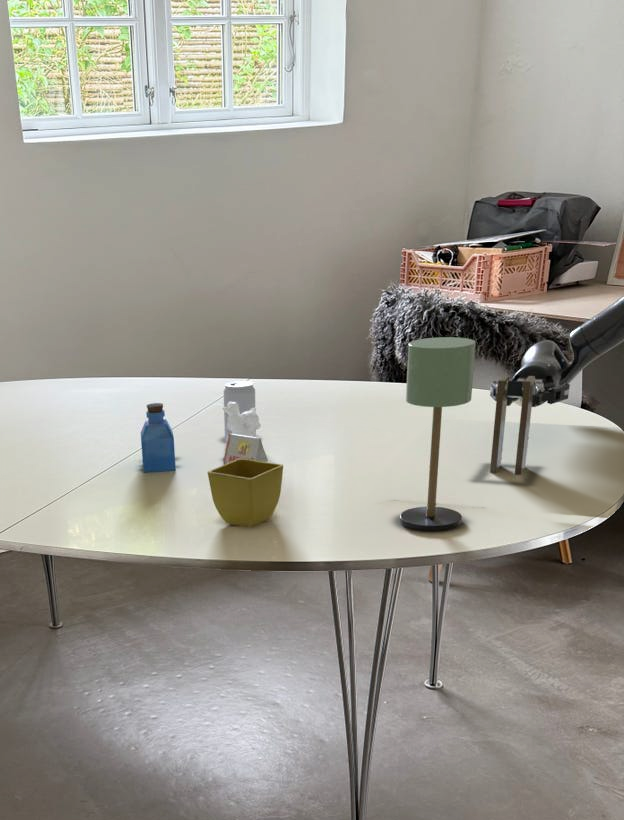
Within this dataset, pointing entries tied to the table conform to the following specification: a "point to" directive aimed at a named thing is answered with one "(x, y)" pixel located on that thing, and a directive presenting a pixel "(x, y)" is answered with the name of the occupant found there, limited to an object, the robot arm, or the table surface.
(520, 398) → the lamp switch
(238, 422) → the white animal figurine
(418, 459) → the table surface
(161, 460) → the blue corked bottle
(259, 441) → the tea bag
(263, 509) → the flower pot
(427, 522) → the desk lamp
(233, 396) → the beverage can
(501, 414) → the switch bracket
